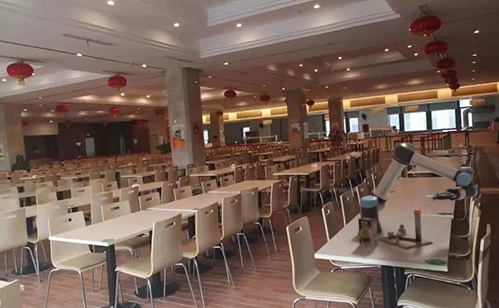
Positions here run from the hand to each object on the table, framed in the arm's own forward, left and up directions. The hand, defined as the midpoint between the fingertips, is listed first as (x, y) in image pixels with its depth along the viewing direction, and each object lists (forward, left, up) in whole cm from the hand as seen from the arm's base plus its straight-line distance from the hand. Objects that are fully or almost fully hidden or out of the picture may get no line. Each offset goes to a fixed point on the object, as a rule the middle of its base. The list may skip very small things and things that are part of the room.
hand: (426, 198), depth 247 cm
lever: (+5, -12, -24) cm, 28 cm away
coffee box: (+22, -28, -26) cm, 44 cm away
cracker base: (+6, -12, -26) cm, 29 cm away
